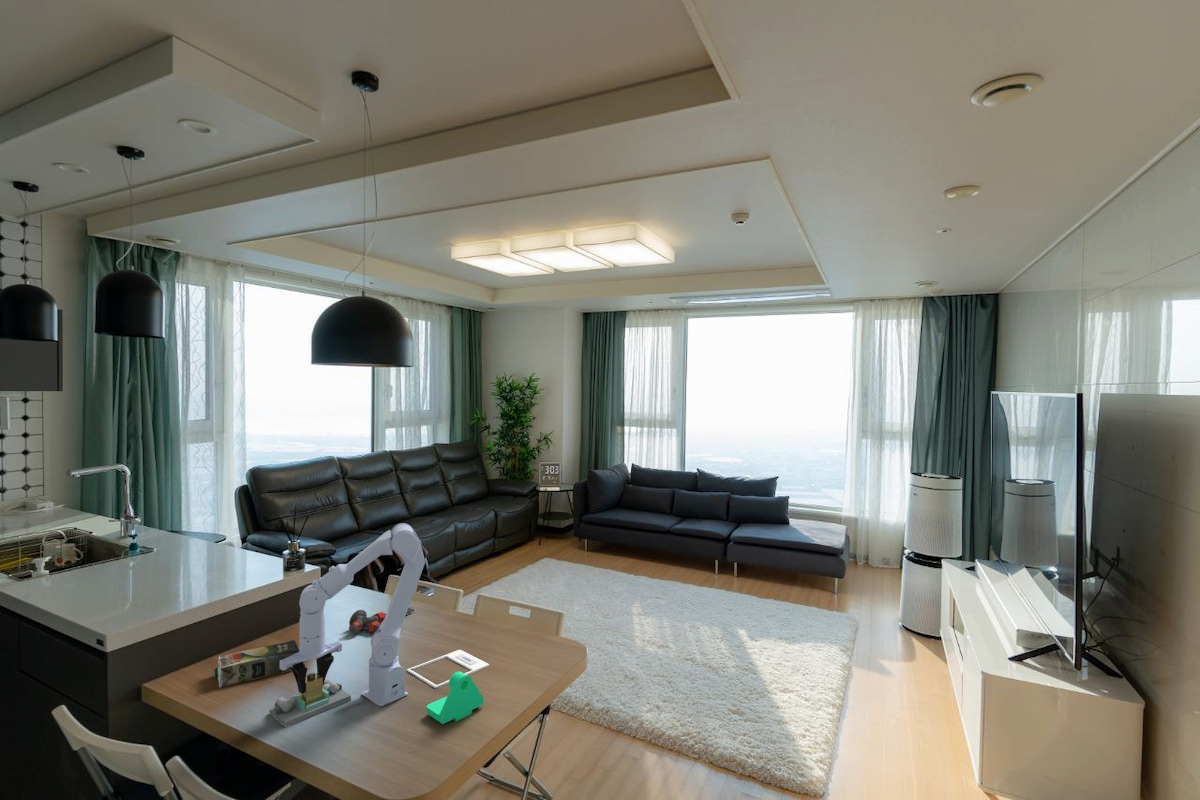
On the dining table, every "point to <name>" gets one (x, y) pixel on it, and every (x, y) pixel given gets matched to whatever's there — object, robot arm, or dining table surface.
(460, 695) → the camera mount
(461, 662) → the photo frame
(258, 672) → the juice carton
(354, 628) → the black red power tool
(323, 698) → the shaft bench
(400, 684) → the robot arm
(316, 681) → the coupling block
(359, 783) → the dining table surface
